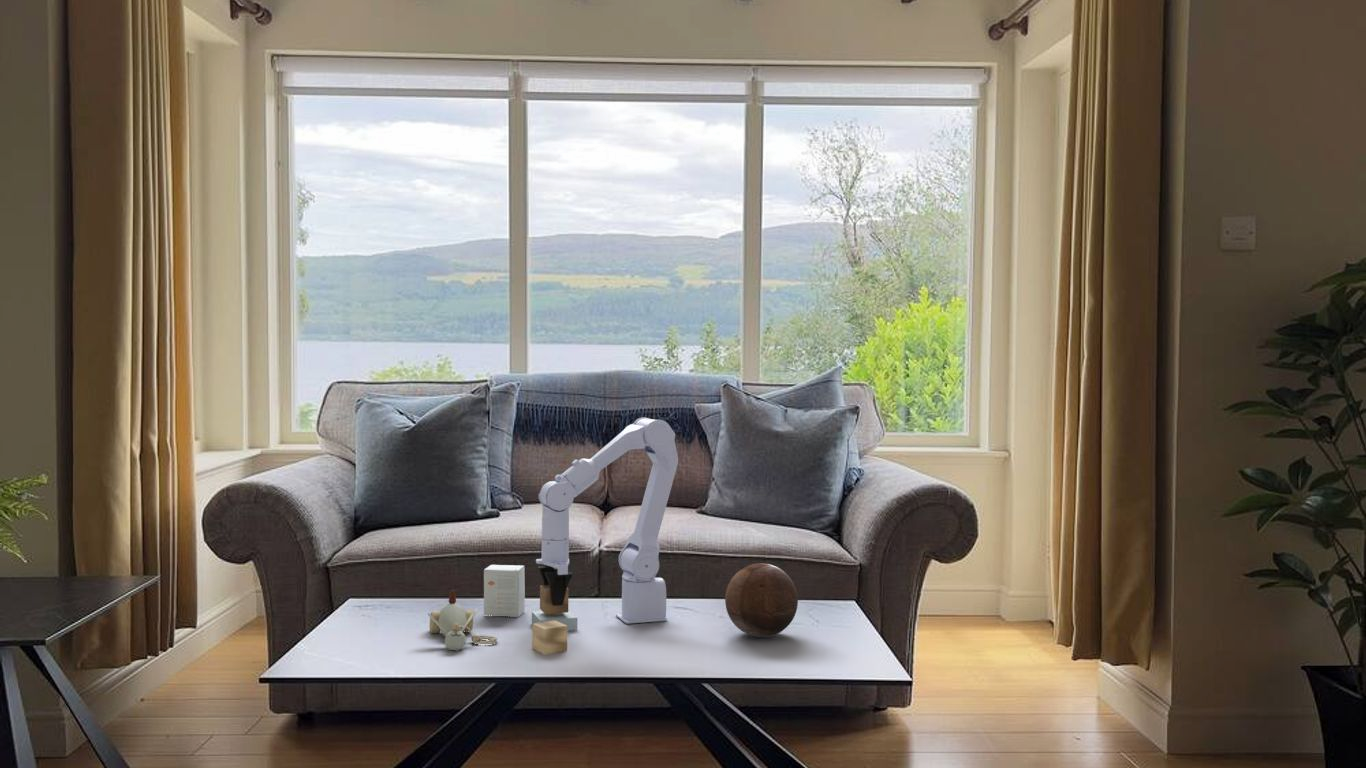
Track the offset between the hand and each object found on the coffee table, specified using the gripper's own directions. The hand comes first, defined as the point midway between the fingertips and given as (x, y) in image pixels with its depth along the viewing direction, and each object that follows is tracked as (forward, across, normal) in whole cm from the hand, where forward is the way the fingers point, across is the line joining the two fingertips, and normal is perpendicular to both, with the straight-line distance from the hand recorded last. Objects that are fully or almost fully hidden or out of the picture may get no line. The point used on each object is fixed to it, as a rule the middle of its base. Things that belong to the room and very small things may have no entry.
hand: (554, 602), depth 224 cm
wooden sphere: (+5, +20, +39) cm, 44 cm away
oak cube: (+5, +17, -5) cm, 18 cm away
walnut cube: (+2, 0, 0) cm, 2 cm away
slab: (+6, 0, 0) cm, 6 cm away
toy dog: (+6, +4, -21) cm, 22 cm away
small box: (+6, -14, -8) cm, 17 cm away
